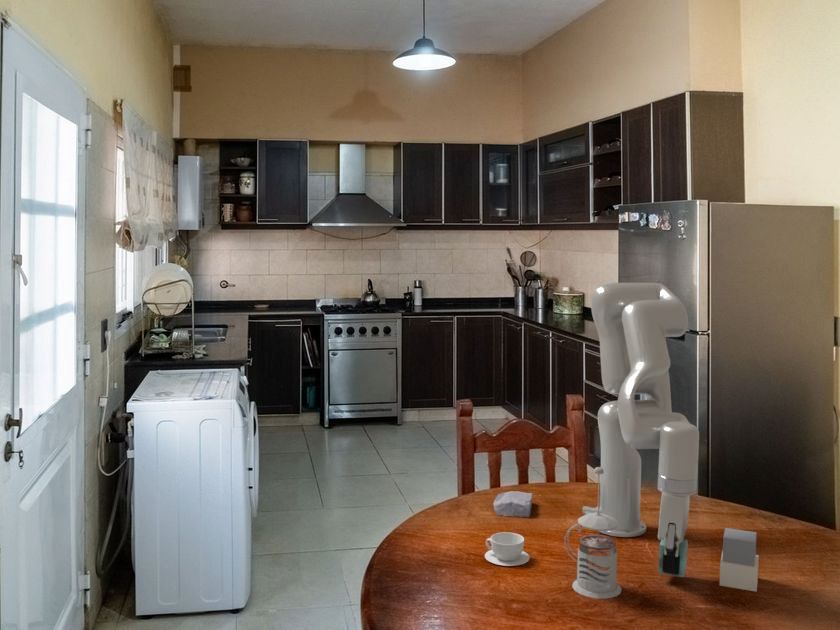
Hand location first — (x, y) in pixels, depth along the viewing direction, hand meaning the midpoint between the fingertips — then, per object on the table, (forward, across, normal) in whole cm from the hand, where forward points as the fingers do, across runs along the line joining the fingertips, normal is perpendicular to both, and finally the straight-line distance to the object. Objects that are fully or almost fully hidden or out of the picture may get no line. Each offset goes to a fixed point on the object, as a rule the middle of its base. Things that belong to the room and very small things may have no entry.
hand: (672, 566), depth 161 cm
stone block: (+6, -27, -43) cm, 51 cm away
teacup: (+4, +4, -35) cm, 35 cm away
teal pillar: (+1, 0, 0) cm, 1 cm away
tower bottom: (+3, -5, +13) cm, 14 cm away
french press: (+3, +10, -14) cm, 18 cm away
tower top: (-2, -5, +12) cm, 14 cm away
